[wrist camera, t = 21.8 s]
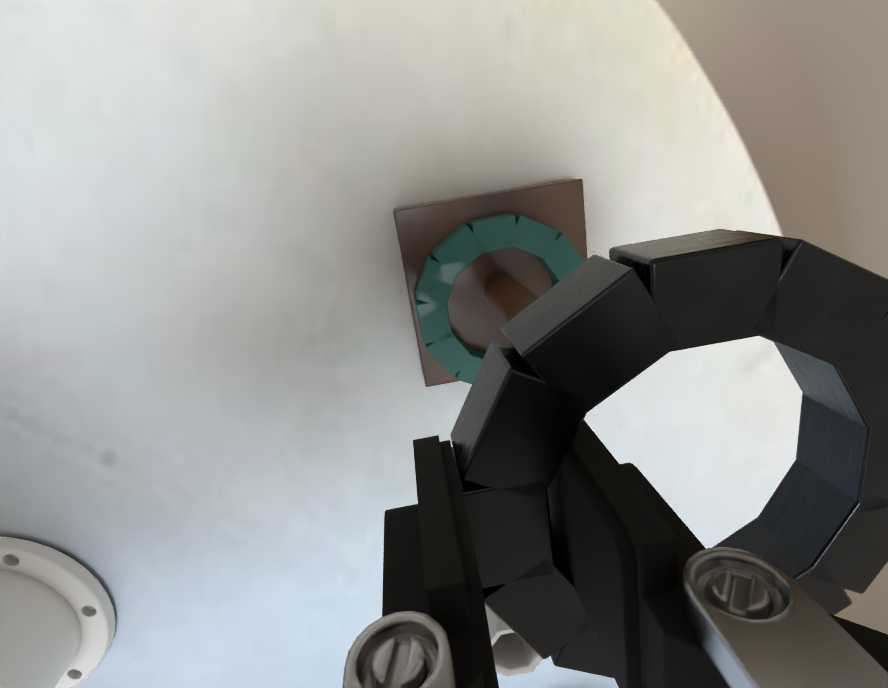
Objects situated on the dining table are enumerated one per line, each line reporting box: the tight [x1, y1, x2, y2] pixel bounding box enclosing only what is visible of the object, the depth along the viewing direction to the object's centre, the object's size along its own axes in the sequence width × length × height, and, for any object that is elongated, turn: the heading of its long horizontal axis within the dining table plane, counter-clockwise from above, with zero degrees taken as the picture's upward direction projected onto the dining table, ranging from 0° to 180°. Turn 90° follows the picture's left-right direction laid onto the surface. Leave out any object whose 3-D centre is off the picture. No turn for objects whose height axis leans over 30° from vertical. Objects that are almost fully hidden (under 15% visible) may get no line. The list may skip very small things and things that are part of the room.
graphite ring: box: [451, 229, 888, 678], centre depth 10 cm, size 9×9×2 cm
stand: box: [393, 179, 587, 387], centre depth 22 cm, size 10×10×14 cm
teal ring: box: [414, 213, 584, 384], centre depth 26 cm, size 9×9×2 cm
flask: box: [485, 605, 542, 676], centre depth 29 cm, size 7×7×10 cm
